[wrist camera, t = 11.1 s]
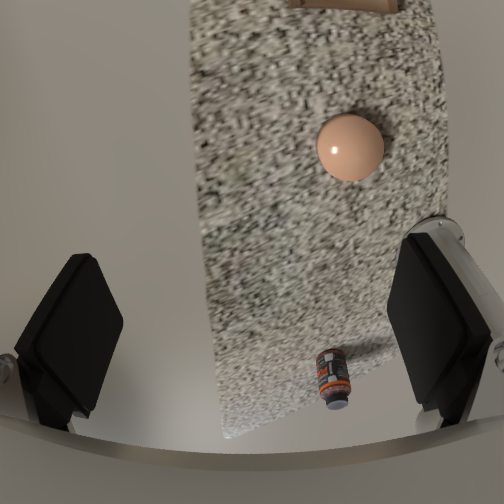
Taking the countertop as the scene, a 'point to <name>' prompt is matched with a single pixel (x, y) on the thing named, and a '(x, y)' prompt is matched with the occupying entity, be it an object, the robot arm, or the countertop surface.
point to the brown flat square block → (349, 5)
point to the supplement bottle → (333, 379)
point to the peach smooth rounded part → (349, 147)
